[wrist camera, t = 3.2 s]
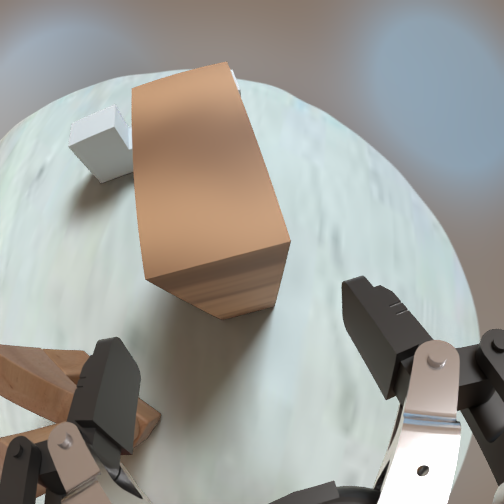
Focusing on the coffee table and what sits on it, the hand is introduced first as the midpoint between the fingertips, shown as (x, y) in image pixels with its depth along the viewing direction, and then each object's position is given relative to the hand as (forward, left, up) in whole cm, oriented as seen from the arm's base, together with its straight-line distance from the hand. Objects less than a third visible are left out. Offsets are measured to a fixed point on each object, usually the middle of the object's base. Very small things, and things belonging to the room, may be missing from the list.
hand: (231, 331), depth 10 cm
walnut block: (-5, +5, -17) cm, 19 cm away
